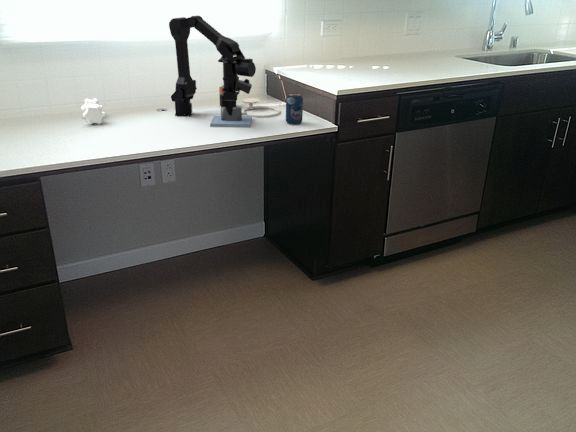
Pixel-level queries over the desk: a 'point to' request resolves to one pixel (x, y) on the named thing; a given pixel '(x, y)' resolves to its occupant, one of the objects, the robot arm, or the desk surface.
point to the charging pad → (231, 122)
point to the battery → (220, 96)
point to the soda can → (294, 108)
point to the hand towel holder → (254, 100)
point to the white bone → (93, 111)
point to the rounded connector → (235, 115)
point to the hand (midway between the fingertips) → (231, 112)
